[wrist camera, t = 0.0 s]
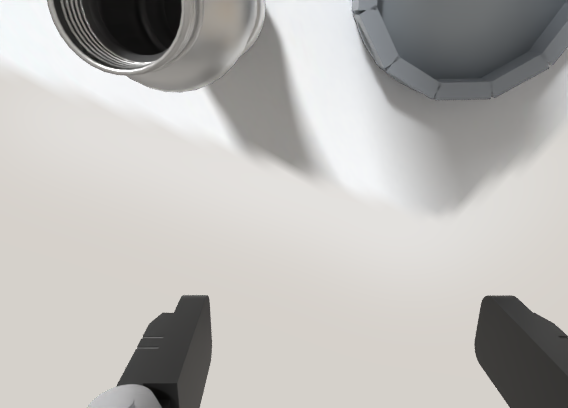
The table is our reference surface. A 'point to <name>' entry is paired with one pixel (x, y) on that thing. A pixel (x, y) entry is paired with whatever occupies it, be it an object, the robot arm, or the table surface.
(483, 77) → the round tray
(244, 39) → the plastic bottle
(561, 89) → the table surface
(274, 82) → the table surface
